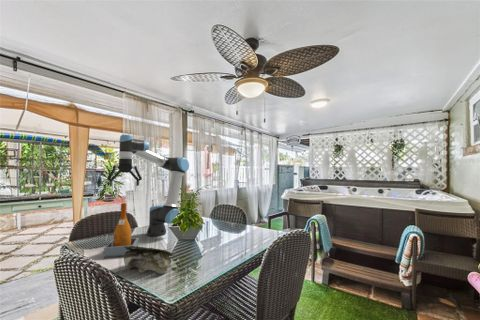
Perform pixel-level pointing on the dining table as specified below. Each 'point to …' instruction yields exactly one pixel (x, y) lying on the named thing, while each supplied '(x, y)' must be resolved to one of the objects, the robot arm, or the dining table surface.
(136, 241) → the crate
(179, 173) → the robot arm
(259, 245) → the dining table surface
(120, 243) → the wine bottle
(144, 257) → the hollow geode rock
